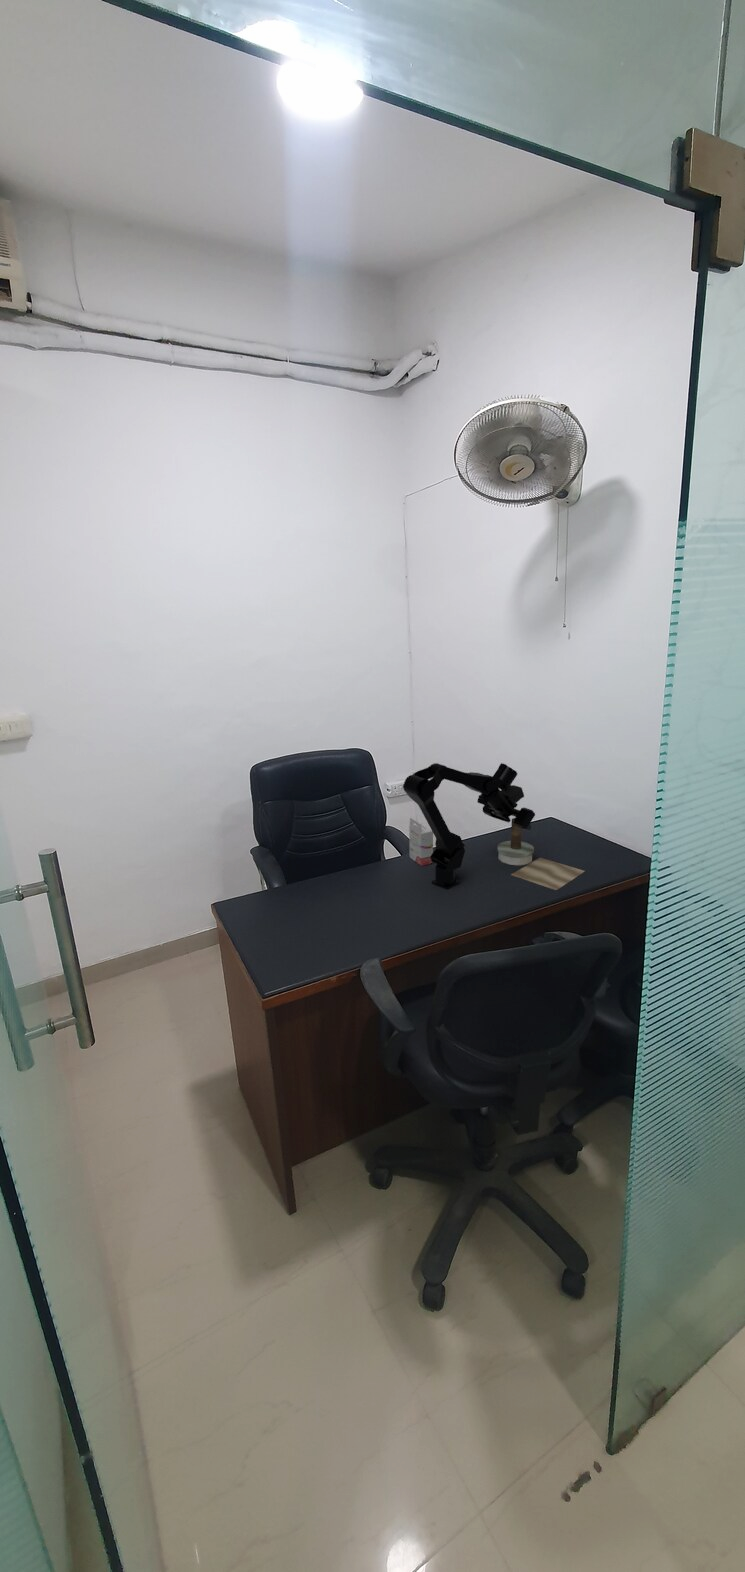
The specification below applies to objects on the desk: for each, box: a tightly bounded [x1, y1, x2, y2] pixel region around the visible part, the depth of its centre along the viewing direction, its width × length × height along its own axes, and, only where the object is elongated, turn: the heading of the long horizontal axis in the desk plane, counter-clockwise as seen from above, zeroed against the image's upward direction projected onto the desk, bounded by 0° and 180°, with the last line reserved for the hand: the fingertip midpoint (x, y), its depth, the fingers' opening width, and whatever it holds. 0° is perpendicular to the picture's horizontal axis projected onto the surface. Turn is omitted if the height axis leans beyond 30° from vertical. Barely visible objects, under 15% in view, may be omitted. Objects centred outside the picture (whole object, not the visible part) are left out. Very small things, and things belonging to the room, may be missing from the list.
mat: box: [510, 857, 586, 891], centre depth 193 cm, size 18×16×1 cm
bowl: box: [497, 852, 533, 866], centre depth 204 cm, size 11×11×3 cm
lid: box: [497, 817, 535, 858], centre depth 202 cm, size 12×12×11 cm
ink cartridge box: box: [408, 817, 434, 867], centre depth 204 cm, size 9×5×15 cm, turn 25°
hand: (519, 825), depth 202 cm, fingers open, 9 cm apart
